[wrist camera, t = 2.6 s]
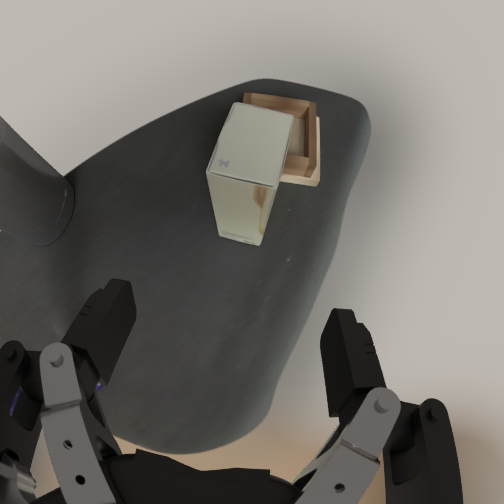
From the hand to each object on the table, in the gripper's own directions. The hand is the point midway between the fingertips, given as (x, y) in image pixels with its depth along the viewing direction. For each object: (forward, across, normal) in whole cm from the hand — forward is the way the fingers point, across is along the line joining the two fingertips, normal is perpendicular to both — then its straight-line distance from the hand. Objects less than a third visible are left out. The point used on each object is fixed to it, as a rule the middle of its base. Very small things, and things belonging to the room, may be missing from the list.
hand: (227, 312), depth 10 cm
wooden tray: (+24, -2, -2) cm, 24 cm away
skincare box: (+18, 0, +4) cm, 18 cm away
